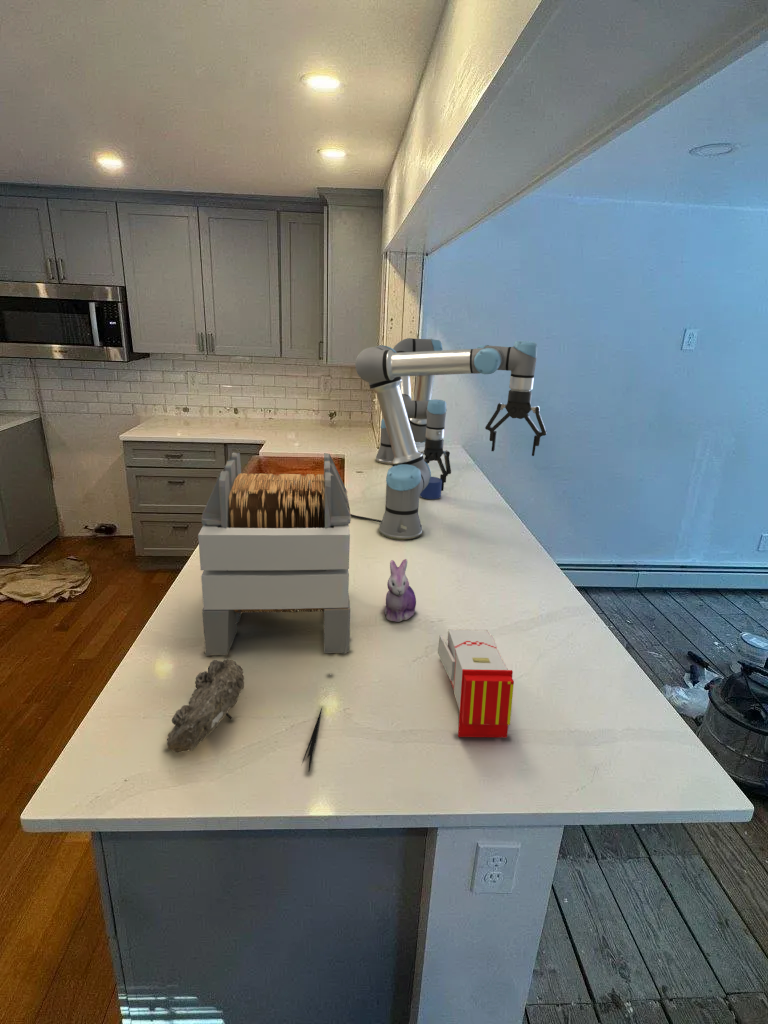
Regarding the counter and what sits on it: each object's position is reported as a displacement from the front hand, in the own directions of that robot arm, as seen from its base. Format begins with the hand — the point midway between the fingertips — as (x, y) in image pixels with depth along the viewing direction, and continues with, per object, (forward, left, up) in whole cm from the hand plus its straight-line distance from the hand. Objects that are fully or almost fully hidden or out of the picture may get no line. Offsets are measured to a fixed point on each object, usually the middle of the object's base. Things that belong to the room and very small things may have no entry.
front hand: (512, 452), depth 194 cm
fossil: (+28, -123, -30) cm, 130 cm away
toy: (+53, -78, -30) cm, 99 cm away
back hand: (-45, +8, -27) cm, 53 cm away
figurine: (+20, -69, -30) cm, 78 cm away
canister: (-45, +8, -29) cm, 55 cm away
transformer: (+4, -94, -30) cm, 99 cm away
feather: (+41, -108, -30) cm, 119 cm away
